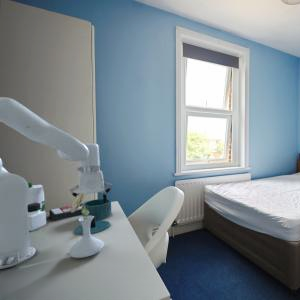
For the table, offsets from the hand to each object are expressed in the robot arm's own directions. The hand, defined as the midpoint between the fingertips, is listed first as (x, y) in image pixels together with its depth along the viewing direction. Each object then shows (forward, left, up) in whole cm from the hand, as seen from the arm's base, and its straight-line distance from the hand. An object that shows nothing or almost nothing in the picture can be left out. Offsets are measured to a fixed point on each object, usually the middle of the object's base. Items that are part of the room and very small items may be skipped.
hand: (92, 203), depth 101 cm
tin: (+16, -2, -12) cm, 20 cm away
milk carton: (+30, +27, -13) cm, 42 cm away
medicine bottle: (+17, +25, -13) cm, 33 cm away
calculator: (+28, +12, -13) cm, 33 cm away
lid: (0, 0, -12) cm, 12 cm away
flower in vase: (-24, +2, -13) cm, 28 cm away
